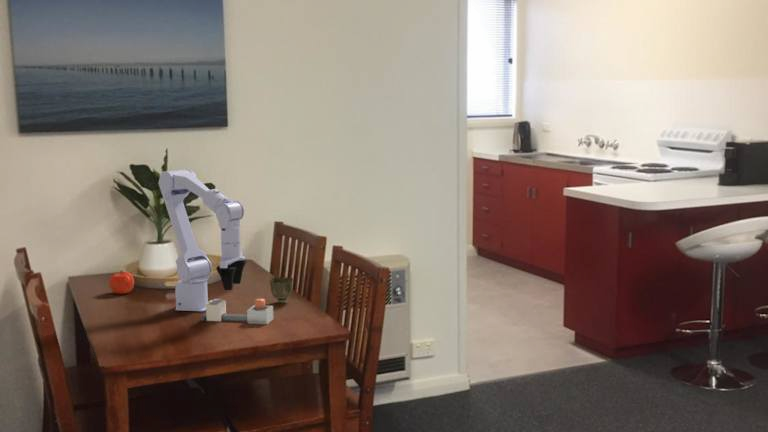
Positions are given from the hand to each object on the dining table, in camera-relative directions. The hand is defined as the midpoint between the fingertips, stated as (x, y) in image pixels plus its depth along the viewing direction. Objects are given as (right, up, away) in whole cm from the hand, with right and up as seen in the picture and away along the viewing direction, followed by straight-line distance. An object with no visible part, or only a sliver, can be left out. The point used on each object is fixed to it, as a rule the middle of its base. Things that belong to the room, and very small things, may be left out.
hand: (232, 286), depth 242 cm
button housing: (+9, -10, -3) cm, 14 cm away
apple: (-44, -5, +32) cm, 54 cm away
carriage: (-5, -10, -1) cm, 11 cm away
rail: (-1, -10, -1) cm, 10 cm away
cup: (+13, -7, +17) cm, 23 cm away
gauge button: (+9, -6, -4) cm, 11 cm away
